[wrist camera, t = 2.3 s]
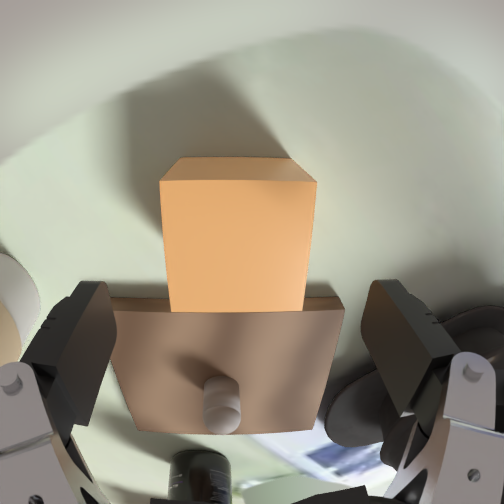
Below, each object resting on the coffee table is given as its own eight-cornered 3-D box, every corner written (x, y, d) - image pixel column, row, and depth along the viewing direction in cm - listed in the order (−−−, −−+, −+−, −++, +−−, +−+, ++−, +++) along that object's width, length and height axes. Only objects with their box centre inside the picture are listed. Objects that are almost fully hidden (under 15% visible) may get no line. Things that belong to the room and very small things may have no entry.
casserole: (537, 259, 22) (591, 303, 14) (501, 378, 30) (530, 421, 22) (306, 347, 23) (332, 441, 16) (327, 451, 31) (342, 511, 24)
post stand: (338, 296, 21) (366, 352, 16) (309, 417, 27) (320, 465, 22) (102, 297, 20) (73, 352, 15) (140, 417, 26) (131, 466, 21)
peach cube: (291, 158, 17) (317, 182, 12) (284, 257, 20) (302, 310, 15) (180, 157, 17) (159, 180, 12) (184, 257, 19) (171, 312, 14)
